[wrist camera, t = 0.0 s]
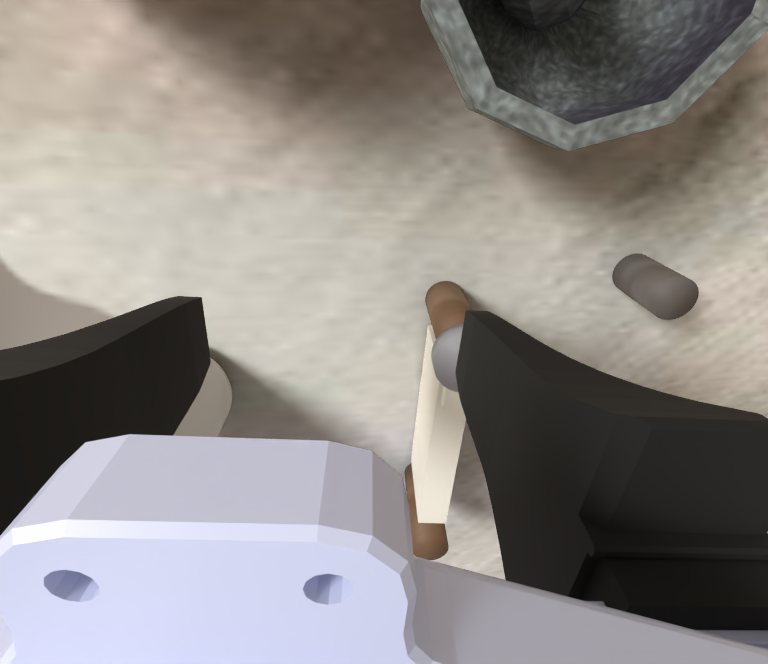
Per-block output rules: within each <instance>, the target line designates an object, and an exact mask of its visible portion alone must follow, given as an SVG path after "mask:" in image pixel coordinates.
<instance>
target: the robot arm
mask: <svg viewBox="0 0 768 664" xmlns="http://www.w3.org/2000/svg"><path fill="white" fill-rule="evenodd" d="M210 363H211V360H210V353H209V346H208V339H207V332H206V325H205V318H204V311H203V304H202V297H184V296H177V297H172V298H168V299H164V300H161V301H158V302H155V303H152V304H150V305H147V306H144V307H141V308H139V309H136V310H133V311H131V312H128V313H125V314H123V315H120V316H117V317H115V318H112V319H109V320H106V321H103V322H100V323H97V324H95V325H92V326H89V327H85V328H83V329H80V330H77V331H74V332H70V333H68V334H64V335H61V336H57V337H54V338H50V339H46V340H42V341H39V342H35V343H31V344H27V345H23V346H19V347H14V348H9V349H4V350H0V664H768V534H767V533H766V532H767V531H768V419H767V418H766V417H764V416H763V415H760V414H757V413H752V412H747V411H742V410H738V409H733V408H728V407H723V406H718V405H713V404H708V403H703V402H698V401H694V400H690V399H686V398H682V397H678V396H674V395H671V394H667V393H663V392H660V391H656V390H653V389H649V388H646V387H643V386H640V385H637V384H634V383H631V382H628V381H625V380H622V379H619V378H616V377H614V376H611V375H608V374H606V373H603V372H601V371H598V370H596V369H594V368H591V367H589V366H587V365H584V364H582V363H580V362H578V361H575V360H573V359H571V358H569V357H567V356H565V355H563V354H561V353H560V352H558V351H556V350H554V349H552V348H550V347H548V346H547V345H545V344H543V343H541V342H540V341H538V340H536V339H534V338H533V337H531V336H530V335H528V334H526V333H525V332H523V331H521V330H520V329H518V328H517V327H515V326H513V325H512V324H510V323H508V322H507V321H505V320H504V319H502V318H500V317H498V316H497V315H495V314H493V313H490V312H488V311H470V310H466V312H465V318H464V324H463V330H462V336H461V342H460V348H459V353H458V359H457V365H456V371H455V374H456V380H457V386H458V392H459V397H460V402H461V405H462V408H463V411H464V414H465V417H466V420H467V423H468V426H469V429H470V432H471V435H472V437H473V440H474V443H475V446H476V449H477V452H478V455H479V458H480V461H481V464H482V467H483V470H484V474H485V477H486V481H487V486H488V490H489V495H490V500H491V504H492V509H493V513H494V519H495V524H496V529H497V534H498V539H499V544H500V550H501V555H502V561H503V567H504V573H505V579H506V580H503V579H499V578H495V577H491V576H487V575H484V574H480V573H476V572H472V571H468V570H465V569H461V568H457V567H453V566H449V565H446V564H442V563H438V562H434V561H430V560H427V559H423V558H419V557H415V556H414V555H413V545H412V534H411V524H410V513H409V504H408V500H407V496H406V492H405V488H404V484H403V480H402V475H401V474H400V473H398V472H397V471H396V470H395V469H393V468H392V467H391V466H390V465H389V464H387V463H386V462H385V461H384V460H383V459H381V458H380V457H379V456H378V455H377V454H375V453H374V452H373V451H370V450H366V449H362V448H358V447H353V446H349V445H345V444H341V443H337V442H332V441H323V440H291V439H260V438H228V437H197V436H173V435H174V433H175V432H176V430H177V428H178V427H179V425H180V423H181V422H182V420H183V418H184V417H185V415H186V414H187V412H188V410H189V408H190V407H191V405H192V403H193V402H194V400H195V398H196V397H197V395H198V393H199V391H200V389H201V387H202V384H203V382H204V379H205V377H206V374H207V372H208V369H209V366H210Z"/></svg>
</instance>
